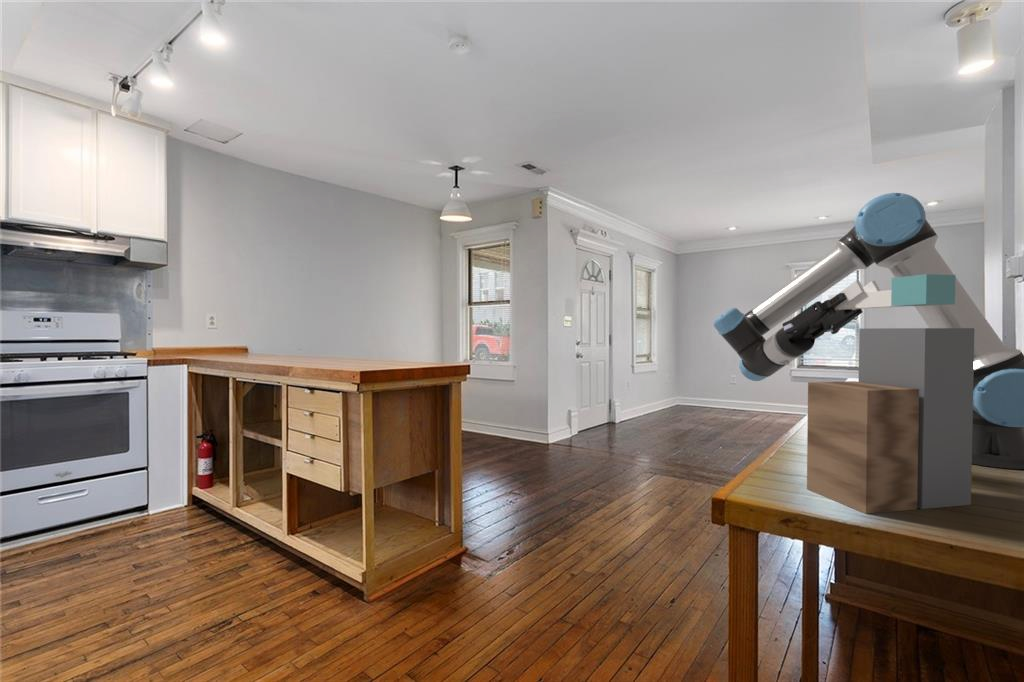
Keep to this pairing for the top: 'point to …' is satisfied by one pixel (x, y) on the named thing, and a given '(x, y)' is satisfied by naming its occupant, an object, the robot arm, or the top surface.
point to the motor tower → (930, 401)
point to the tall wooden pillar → (863, 445)
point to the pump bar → (909, 293)
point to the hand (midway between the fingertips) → (868, 286)
